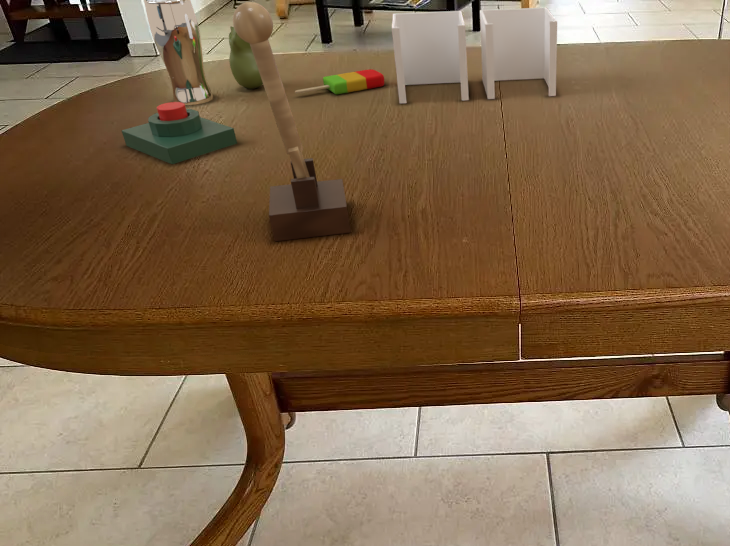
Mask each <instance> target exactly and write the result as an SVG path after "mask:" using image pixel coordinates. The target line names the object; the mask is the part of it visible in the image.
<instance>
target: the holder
mask: <svg viewBox="0 0 730 546" xmlns="http://www.w3.org/2000/svg"><path fill="white" fill-rule="evenodd" d="M304 160H305V163H306V167H307V170H308V173H309V176H310V177H306V178H297V176H296V173H295V170H294V167H293V164H292V161H291V160H290V167H291V172H292V177H293V178H290V184H282V185H272V186H271V185H270V186H269V202H268V203H269V206H268V217H269V218H268V219H269V222H270V226H271V232H272V235H273V239H274V242H282V241H291V240H298V239H299V240H300V239H308V238H316V237H323V236H333V235H334V236H335V235H341V234H342V235H343V234H348V233H349V234H350V233H352V230H351V223H350V218H349V212H348V207H347V200H346V199H347V198H346V193H345V188H344V179H343V178H338V179H328V180H318V178H317V173H316V167H315V161H314V158H312V157H310V158H304Z"/></svg>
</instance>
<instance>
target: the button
mask: <svg viewBox="0 0 730 546" xmlns="http://www.w3.org/2000/svg"><path fill="white" fill-rule="evenodd" d="M186 109H187V108H186V105H185V104H184V103H181V102H174V101H171V102H165V103H161V104H159V105H158V106H156V110H157V113H158V114H159V117H160V120H161V121H173V120H180V119H183V118H186V117H188V114H187V111H186Z"/></svg>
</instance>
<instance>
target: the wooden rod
mask: <svg viewBox="0 0 730 546" xmlns="http://www.w3.org/2000/svg"><path fill="white" fill-rule="evenodd" d="M232 27H234V29H235V31H236V33H237V34H238V36H239V37H240V38H241V39H243V40H244V41H246V42H248V43H250V46H251V49H252V52H253V55H254V58H255V61H256V64H257V67H258V70H259V73H260V76H261V79H262V82H263V85H262V86H263V87H264V91H265V93H266V96H267V100H268V102H269V105H270V109H271V111H272V115H273V117H274V120H275V123H276V126H277V127H276V128H277V129H278V132H279V135H280V138H281V142H282V144H283V147H284V150H285V153H286V154H287V155H289V159H290V162H291V161H292V164H293V167H294V170H295V173H296V176H297V178H306V177H310V176H309V173H308V170H307V167H306V163H305V160H304V159H305V157H304V154H303V151H304V145H303V143H302V139H301V136H300V134H299V132H298V127H297V125H296V122H295V118H294V116H293V113H292V108H291V106H290V103H289V99H288V96H287V93H286V90H285V86H284V84H283V80H282V78H281V75H280V71H279V68H278V65H277V62H276V59H275V56H274V52H273V50H272V46H271V43H270V40H269V39H270V38H271V36H272V34H273V31H274V21H273V18H272V16H271V14H270V12H269V10H268V9H266V8H265V7H264V6H263V5H261V4H260V3H258V2H254V1H246V2H243V3H241V4H240V5H238V6H237V7H236V8H235V10H234V12H233V15H232Z"/></svg>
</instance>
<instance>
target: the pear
mask: <svg viewBox="0 0 730 546" xmlns="http://www.w3.org/2000/svg"><path fill="white" fill-rule="evenodd" d="M229 28H230V29H229V30H230V32H229V34H228V45H229V48H230V51H229V52H230V53H229V60H228V62H229V69H230V71H231V74H232V76H233V78H234V80H235V81H236V82H237V84H238V85H239V86H241V87H242V88H245V89H249V90H250V89H251V90H254V89H258V88H260V87H262V86H264V85H263V82H262V79H261V76H260V73H259V70H258V67H257V64H256V61H255V58H254V55H253V52H252V49H251V46H250V43H248V42H246V41H244V40H243V39H241V38H240V37H239V36H238V34H237V33H236V31H235V29H234V26H233V25H232V26H230V27H229Z"/></svg>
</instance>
